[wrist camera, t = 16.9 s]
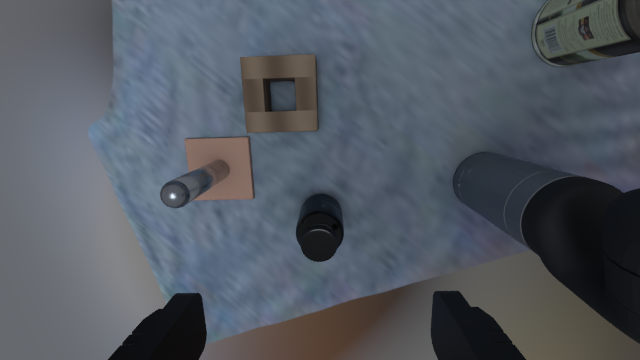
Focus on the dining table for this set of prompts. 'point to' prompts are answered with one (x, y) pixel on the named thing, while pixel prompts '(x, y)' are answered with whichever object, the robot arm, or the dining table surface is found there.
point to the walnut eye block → (259, 98)
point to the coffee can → (586, 30)
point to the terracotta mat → (234, 155)
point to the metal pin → (193, 184)
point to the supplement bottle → (320, 227)
